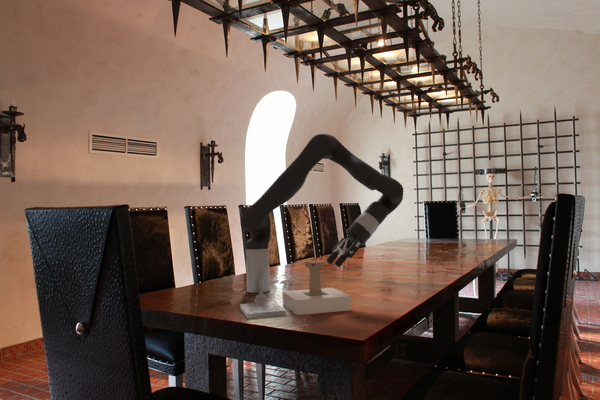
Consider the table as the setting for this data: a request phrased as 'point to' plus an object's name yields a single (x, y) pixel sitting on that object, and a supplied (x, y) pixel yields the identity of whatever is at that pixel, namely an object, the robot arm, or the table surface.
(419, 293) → the table surface
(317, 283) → the handle
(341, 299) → the socket block
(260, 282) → the chalice
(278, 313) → the white flat slab
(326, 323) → the table surface
